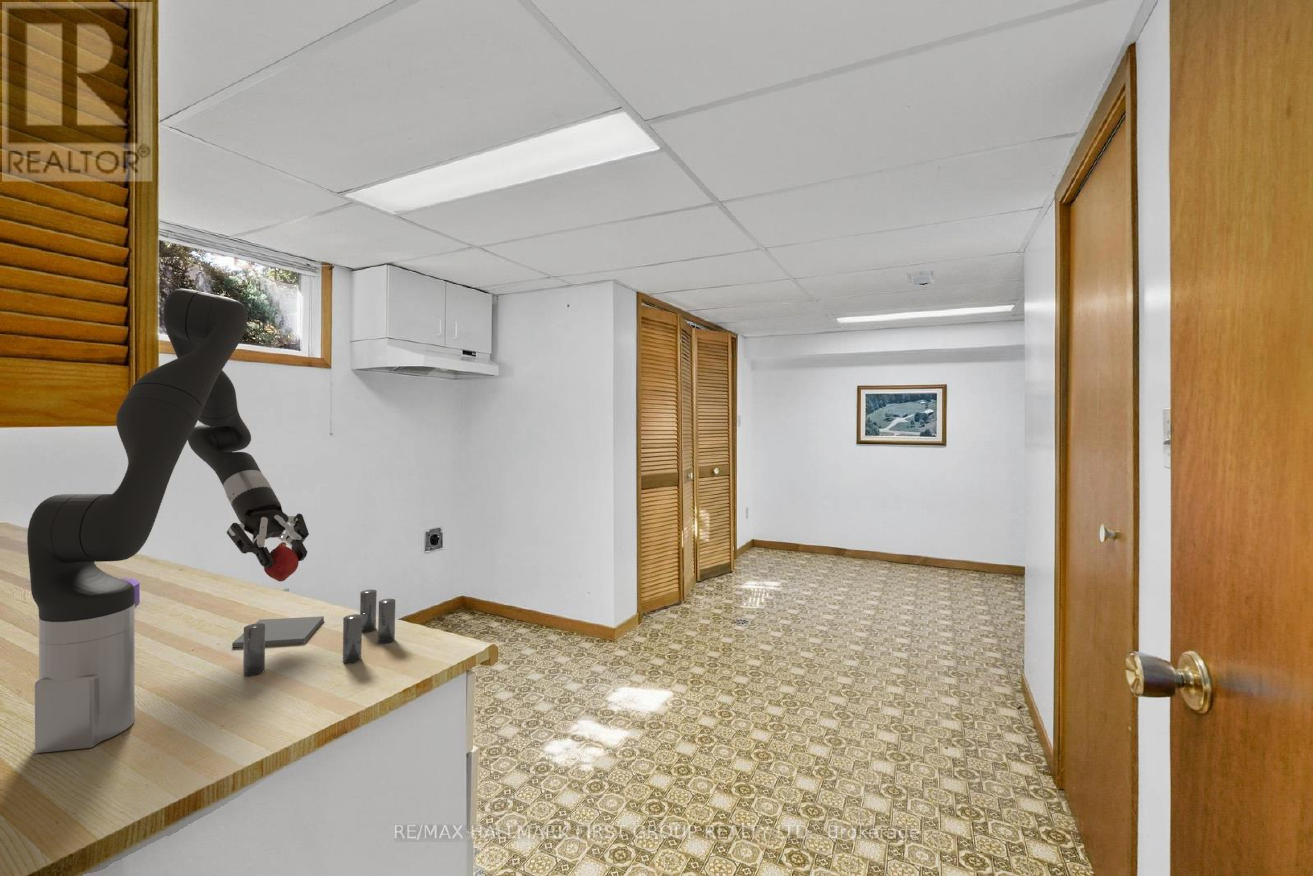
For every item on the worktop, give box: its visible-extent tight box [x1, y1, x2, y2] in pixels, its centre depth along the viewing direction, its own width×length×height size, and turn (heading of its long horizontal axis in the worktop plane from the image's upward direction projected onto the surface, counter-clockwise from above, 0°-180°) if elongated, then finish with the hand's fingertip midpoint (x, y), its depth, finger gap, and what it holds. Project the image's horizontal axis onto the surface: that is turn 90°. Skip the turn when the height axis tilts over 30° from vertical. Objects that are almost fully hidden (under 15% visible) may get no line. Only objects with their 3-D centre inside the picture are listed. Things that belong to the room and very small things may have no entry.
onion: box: [263, 541, 300, 582], centre depth 111 cm, size 6×6×8 cm
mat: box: [231, 615, 325, 648], centre depth 111 cm, size 12×12×1 cm
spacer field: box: [242, 589, 396, 677], centre depth 106 cm, size 20×22×8 cm
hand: (287, 561), depth 110 cm, fingers closed on onion, 5 cm apart
